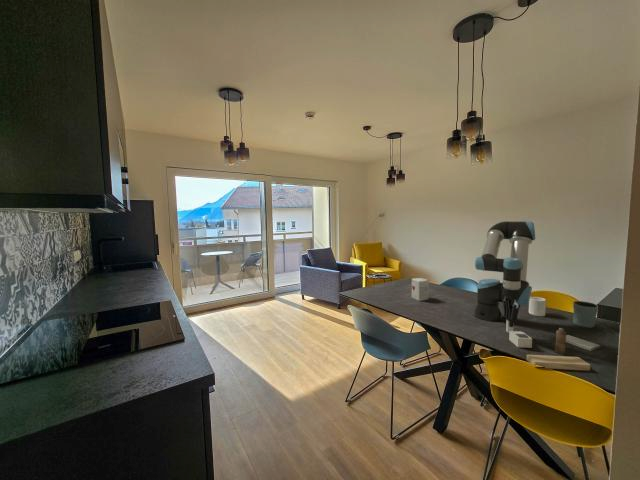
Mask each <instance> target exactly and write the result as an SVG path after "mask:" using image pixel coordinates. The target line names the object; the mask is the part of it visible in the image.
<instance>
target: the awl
mask: <svg viewBox="0 0 640 480" xmlns="http://www.w3.org/2000/svg"><path fill="white" fill-rule="evenodd" d="M566 335H567V332H566V331H564V328H562V327H559V328H558V329H557V330H556V331H555V343H554V345H555V347H554V353H556V354H557V355H559V356H565V354H566V344H567V342H566Z"/></svg>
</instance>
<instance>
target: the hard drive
mask: <svg viewBox="0 0 640 480" xmlns="http://www.w3.org/2000/svg"><path fill="white" fill-rule="evenodd" d="M566 344H570V345H573V346H575V347H578V348H581V349H585V350H588V351H590V352H591V351H594V350H596V348H597V349H599V348H601V345H600V344H598V343H594V342H592V341H588V340H585V339H582V338H579V337H577V336H576V337H575V336H573V335H569V334H566ZM598 347H599V348H598Z"/></svg>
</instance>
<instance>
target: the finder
mask: <svg viewBox="0 0 640 480" xmlns="http://www.w3.org/2000/svg"><path fill="white" fill-rule="evenodd" d="M508 334H509V335H508V339H509V341H510V342H511V343H512V344H513V345H515V346H516V347H517V348H526V349H527V348H529V349H532V348H533V338H532V337H531V336H529V335H527V334H526V333H525V332H524V331H521V330H520V331H518V330H515V331H514V330H513V331H509V332H508Z"/></svg>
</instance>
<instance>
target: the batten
mask: <svg viewBox="0 0 640 480" xmlns="http://www.w3.org/2000/svg"><path fill="white" fill-rule="evenodd" d="M526 361H527V362H528V363H529V364H530V363H532V364H535V365H539V366H542V367H545V368H544V369H550V370H551V369H555V370H568V371H569V370H572V371H588V372H590V370H591V364H589V363H588V362H587V361H586V360H584V359H582V358H581V357H580V356H579V357H578V356H565V355H543V354H526ZM532 364H531V365H532Z"/></svg>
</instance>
